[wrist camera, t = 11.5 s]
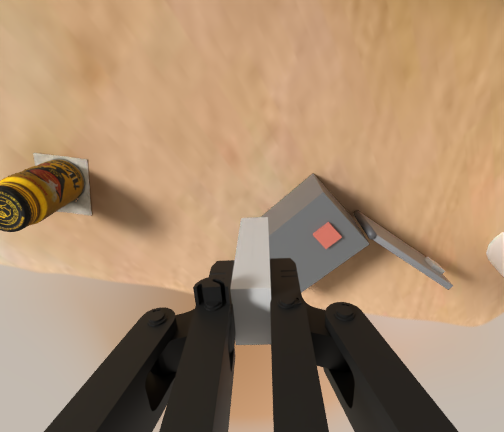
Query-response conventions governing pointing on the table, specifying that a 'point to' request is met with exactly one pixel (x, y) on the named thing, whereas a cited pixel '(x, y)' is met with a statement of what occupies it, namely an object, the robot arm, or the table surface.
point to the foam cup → (497, 253)
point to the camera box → (312, 231)
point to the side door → (402, 250)
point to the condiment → (44, 191)
